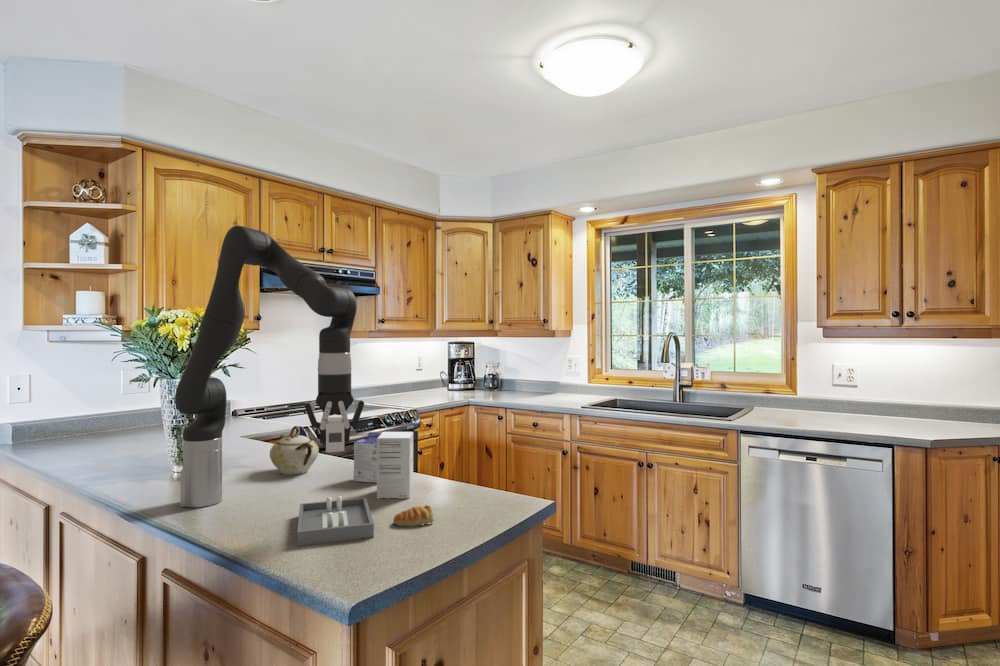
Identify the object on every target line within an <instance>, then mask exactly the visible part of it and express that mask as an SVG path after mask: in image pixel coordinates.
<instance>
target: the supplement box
mask: <svg viewBox="0 0 1000 666" xmlns="http://www.w3.org/2000/svg"><path fill="white" fill-rule="evenodd" d="M413 490H414V431H382V432H381V434H379V437H378V438H377V483H376V499H378V500H381V499H382V498H386V499H385V500H387V499H388V498H389V499H390V498H398V499H411V495H412V493H413ZM380 498H381V499H380ZM389 499H388V500H389ZM382 500H383V499H382Z"/></svg>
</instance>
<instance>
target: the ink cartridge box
mask: <svg viewBox="0 0 1000 666" xmlns="http://www.w3.org/2000/svg"><path fill="white" fill-rule="evenodd" d="M372 435H374V436H372ZM379 436H380V432H374V431H373V432H370V431H369V432H368V434H367V438H366V439H358V440H356V441H354V442H353V482H361V483H375V484H377V438H378V437H379Z"/></svg>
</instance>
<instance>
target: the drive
mask: <svg viewBox="0 0 1000 666" xmlns="http://www.w3.org/2000/svg"><path fill="white" fill-rule="evenodd" d="M325 429H326V446H325V453H336V452H345V445H344V421H343V419H342V416H335V417H334V416H332V417H331V416H329V417H328V420H327V421H326V427H325Z"/></svg>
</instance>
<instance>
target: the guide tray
mask: <svg viewBox="0 0 1000 666" xmlns="http://www.w3.org/2000/svg"><path fill="white" fill-rule="evenodd" d="M332 499H333V498H332V497H331V496H328V497H326V501H316V502H303V503H300V504H299V510H298V511H299V512H298V519H297V520H298V521H297V528H296V529H297V532H296V535H297V536H296V538H297V539H296V547H302V546H310V545H319V544H320V543H321V544H328V543H329V542H330V543H336V542H345V541H346V542H347V541H354V540H355V541H356V540H362V539H361V538H364V539H369V538H368V537H372V538H374V535H375V533H374V529H375V528H374V527H375V526H374V525H375V524H374V520H373V516H372V513H371V510H370V506H369V503H368V500H367V497H360V498H359V497H358V498H348V499H343V496H341V495H340V496H337V497H336V499H335V500H332Z"/></svg>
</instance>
